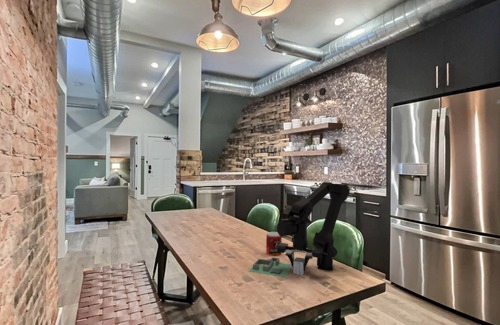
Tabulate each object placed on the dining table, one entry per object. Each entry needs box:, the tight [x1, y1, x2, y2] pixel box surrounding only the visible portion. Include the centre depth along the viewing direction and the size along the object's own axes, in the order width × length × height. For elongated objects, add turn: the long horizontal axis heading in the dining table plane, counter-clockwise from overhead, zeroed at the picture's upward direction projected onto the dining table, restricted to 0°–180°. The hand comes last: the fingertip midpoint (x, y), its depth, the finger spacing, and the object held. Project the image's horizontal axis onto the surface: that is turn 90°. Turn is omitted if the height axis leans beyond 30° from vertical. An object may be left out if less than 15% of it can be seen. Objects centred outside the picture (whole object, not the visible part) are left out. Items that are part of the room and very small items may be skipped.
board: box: [248, 256, 293, 278], centre depth 123 cm, size 16×15×3 cm
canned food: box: [265, 231, 283, 257], centre depth 142 cm, size 8×8×11 cm
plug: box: [292, 256, 305, 276], centre depth 119 cm, size 4×6×6 cm
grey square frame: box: [252, 258, 273, 272], centre depth 123 cm, size 7×8×2 cm
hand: (299, 270), depth 119 cm, fingers closed on plug, 4 cm apart
